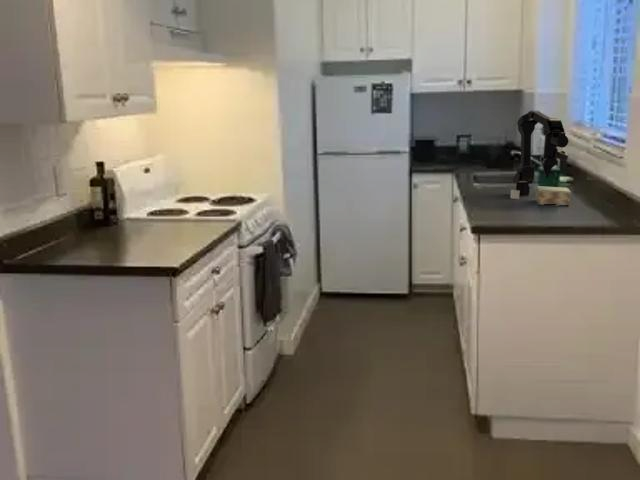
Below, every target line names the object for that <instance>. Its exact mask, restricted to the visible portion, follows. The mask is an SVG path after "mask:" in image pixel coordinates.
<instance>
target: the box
mask: <svg viewBox="0 0 640 480" xmlns="http://www.w3.org/2000/svg"><path fill="white" fill-rule="evenodd" d="M536 200H537V201H536ZM535 201H536V203H537V202H538V203H537V205H544V204H569V205H570V201H571V193H559V192H542V191H539V190H538V188H537V187H536V196H535Z"/></svg>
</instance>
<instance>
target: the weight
mask: <svg viewBox="0 0 640 480" xmlns="http://www.w3.org/2000/svg"><path fill="white" fill-rule="evenodd" d="M519 193H520V191H519V190H516V189H510V199H511V200H512V199H513V200H519V199H520V195H519Z"/></svg>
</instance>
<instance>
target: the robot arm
mask: <svg viewBox="0 0 640 480" xmlns="http://www.w3.org/2000/svg"><path fill="white" fill-rule="evenodd" d="M516 123H517V131H518V132H519V134H520V164H519V166H517V168H516V173H515V175H514V176H513V178H512V183H514V184H515V190H519V191H520V193H519V196H520V195H521V196H522V195H528V196H529V195H530V190H531V189H530V188H531V186H530V185H531V184H533V182H534V178H535V169H536V168H535V167H534V166H533V165H532V162H531V161H532V160H531V158H532V157H531V155H532V153H531V151H532V134H533V133H534V131H535V128H536V126H537V124H540V125H542V129H544V130H545V132H544V133H543V135H544V136H545V137H544V138H545V139H544V143H543V144H544V146H543V154H541V156H540V159H539V161H540V162H541V166H542V169H543V173H544V176H545V178H546V179H549V177H550V174H551V171H552V169H553V168H554V167H556V166H558V164H559V160H561V161H563V162H564V163H566V162H567V161H568V158H569V155H568V154H566V151H564V150H561V151H558V150H559V149H558V148H561V149H562V148H566V147H567V146H568V145H569V138H568V137H567V135H566V131H565V128H564V126H563V122H562V120H561V119H560V118H555V117H554V118H553V117H550V116H548V115H546V114H544V113H542V112H541V111H540V110H532V109H531V110H529V111H528V112H527V113H525V114H523V115H521V116H520V118H518V120H517V122H516ZM557 147H558V148H557ZM558 159H559V160H558Z"/></svg>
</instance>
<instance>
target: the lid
mask: <svg viewBox="0 0 640 480" xmlns="http://www.w3.org/2000/svg"><path fill="white" fill-rule="evenodd" d="M537 188H538V190H539V191H542V192H559V193H571V190H570V189H569V188H568V187H560V186H559V187H557V186H539V185H537V187H536V189H537Z"/></svg>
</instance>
